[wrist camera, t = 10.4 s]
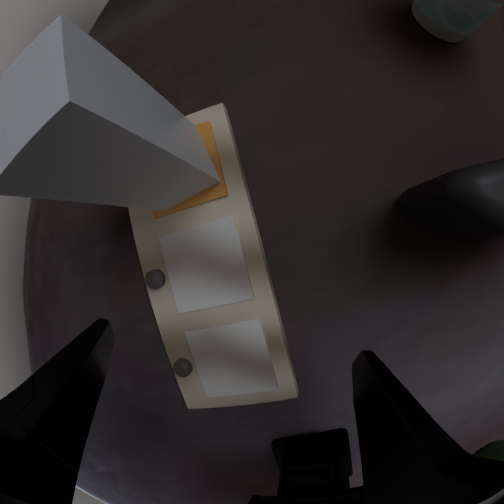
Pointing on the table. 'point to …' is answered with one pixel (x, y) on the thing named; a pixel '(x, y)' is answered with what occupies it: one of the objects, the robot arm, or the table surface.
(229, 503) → the table surface
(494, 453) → the wine bottle
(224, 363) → the switch board
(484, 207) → the leaning round-cornered charcoal block
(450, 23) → the coffee cup
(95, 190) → the block
